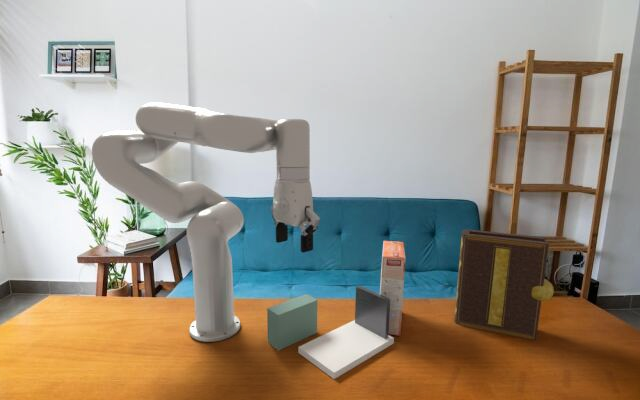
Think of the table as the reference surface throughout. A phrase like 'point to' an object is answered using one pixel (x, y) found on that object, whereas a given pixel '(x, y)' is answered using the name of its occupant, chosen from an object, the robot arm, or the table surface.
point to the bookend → (372, 311)
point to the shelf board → (343, 348)
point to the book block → (291, 321)
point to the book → (502, 282)
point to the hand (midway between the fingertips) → (293, 246)
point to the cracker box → (393, 281)
